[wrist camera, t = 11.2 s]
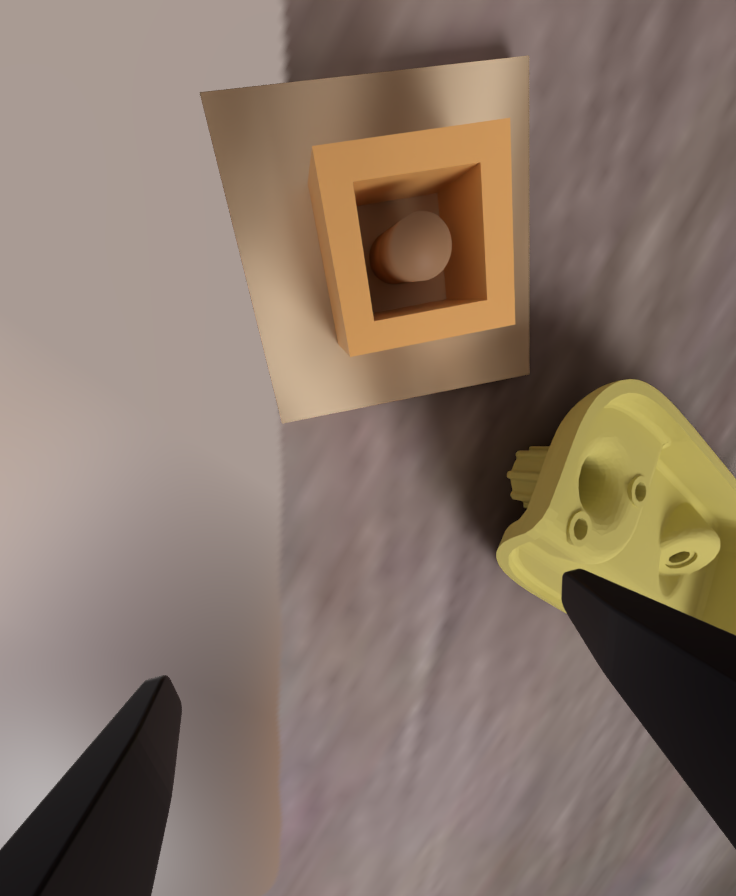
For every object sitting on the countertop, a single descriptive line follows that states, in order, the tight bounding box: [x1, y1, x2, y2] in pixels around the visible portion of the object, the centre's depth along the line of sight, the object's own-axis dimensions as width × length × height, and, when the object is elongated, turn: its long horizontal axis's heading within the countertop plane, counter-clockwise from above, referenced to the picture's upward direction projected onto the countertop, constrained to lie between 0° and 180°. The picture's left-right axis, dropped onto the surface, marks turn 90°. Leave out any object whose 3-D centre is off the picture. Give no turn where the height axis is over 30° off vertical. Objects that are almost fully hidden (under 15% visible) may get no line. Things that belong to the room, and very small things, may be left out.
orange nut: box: [308, 118, 515, 357], centre depth 15 cm, size 6×6×4 cm
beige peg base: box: [200, 56, 529, 423], centre depth 15 cm, size 12×12×5 cm
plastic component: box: [496, 379, 736, 635], centre depth 23 cm, size 20×7×10 cm
